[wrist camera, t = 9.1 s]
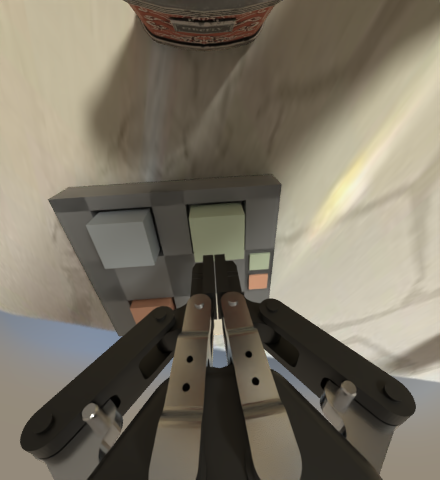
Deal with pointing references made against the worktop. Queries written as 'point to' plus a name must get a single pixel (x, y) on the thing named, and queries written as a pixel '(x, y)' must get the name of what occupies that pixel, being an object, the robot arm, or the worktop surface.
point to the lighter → (203, 21)
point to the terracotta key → (149, 306)
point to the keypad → (171, 237)
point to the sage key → (217, 230)
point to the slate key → (125, 238)
